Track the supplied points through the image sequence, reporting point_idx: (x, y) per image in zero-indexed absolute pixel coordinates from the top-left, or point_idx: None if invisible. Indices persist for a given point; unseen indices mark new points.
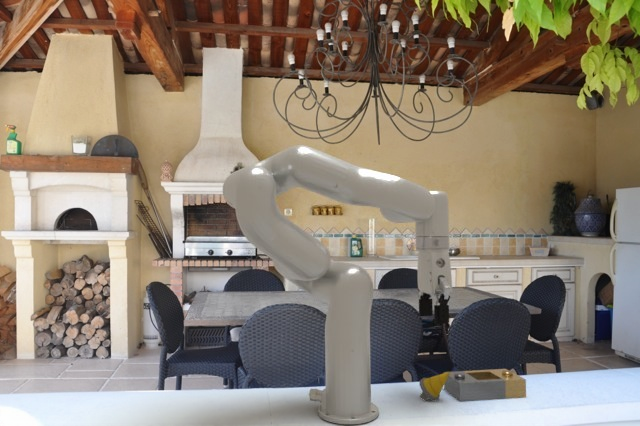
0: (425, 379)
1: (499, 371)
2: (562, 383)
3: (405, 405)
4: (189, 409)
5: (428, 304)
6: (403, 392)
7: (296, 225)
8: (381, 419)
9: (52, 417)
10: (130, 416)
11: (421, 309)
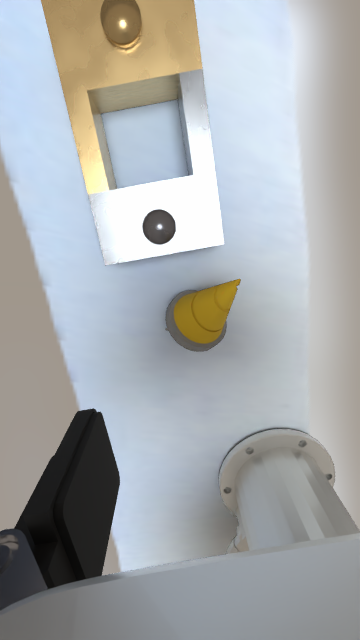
0: (198, 338)
1: (84, 45)
2: None
3: (234, 372)
4: None
5: (84, 498)
6: (145, 365)
7: None
8: (307, 423)
9: None
10: None
11: (109, 510)
